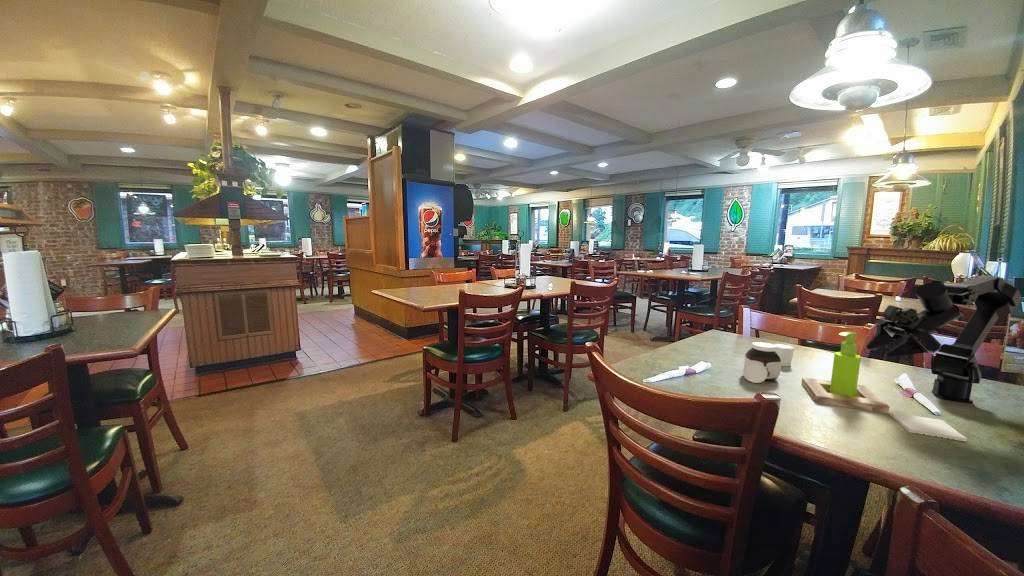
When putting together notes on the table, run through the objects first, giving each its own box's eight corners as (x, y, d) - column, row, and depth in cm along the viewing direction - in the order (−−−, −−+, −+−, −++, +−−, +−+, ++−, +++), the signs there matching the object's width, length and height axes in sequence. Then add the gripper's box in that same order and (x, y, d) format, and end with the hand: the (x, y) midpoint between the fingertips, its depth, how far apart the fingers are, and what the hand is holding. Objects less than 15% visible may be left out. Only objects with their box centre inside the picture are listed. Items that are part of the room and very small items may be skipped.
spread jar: (773, 375, 131) (776, 342, 130) (787, 387, 121) (791, 352, 119) (734, 371, 135) (737, 340, 133) (744, 383, 124) (748, 349, 122)
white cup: (797, 367, 140) (799, 348, 139) (778, 366, 140) (780, 348, 139) (784, 360, 146) (786, 343, 145) (766, 360, 147) (768, 343, 146)
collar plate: (864, 391, 118) (865, 385, 117) (888, 413, 103) (889, 406, 103) (801, 383, 124) (802, 377, 124) (815, 402, 110) (816, 395, 110)
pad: (941, 422, 98) (941, 419, 98) (966, 441, 89) (966, 438, 89) (890, 414, 102) (890, 412, 102) (909, 432, 93) (909, 429, 93)
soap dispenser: (822, 394, 115) (830, 330, 112) (837, 391, 118) (845, 329, 115) (845, 402, 110) (854, 335, 107) (859, 399, 112) (868, 333, 109)
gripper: (888, 293, 116) (839, 324, 121) (934, 301, 98) (875, 337, 103) (916, 321, 115) (865, 352, 119) (968, 334, 97) (906, 369, 102)
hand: (876, 351), depth 111 cm, fingers open, 9 cm apart
